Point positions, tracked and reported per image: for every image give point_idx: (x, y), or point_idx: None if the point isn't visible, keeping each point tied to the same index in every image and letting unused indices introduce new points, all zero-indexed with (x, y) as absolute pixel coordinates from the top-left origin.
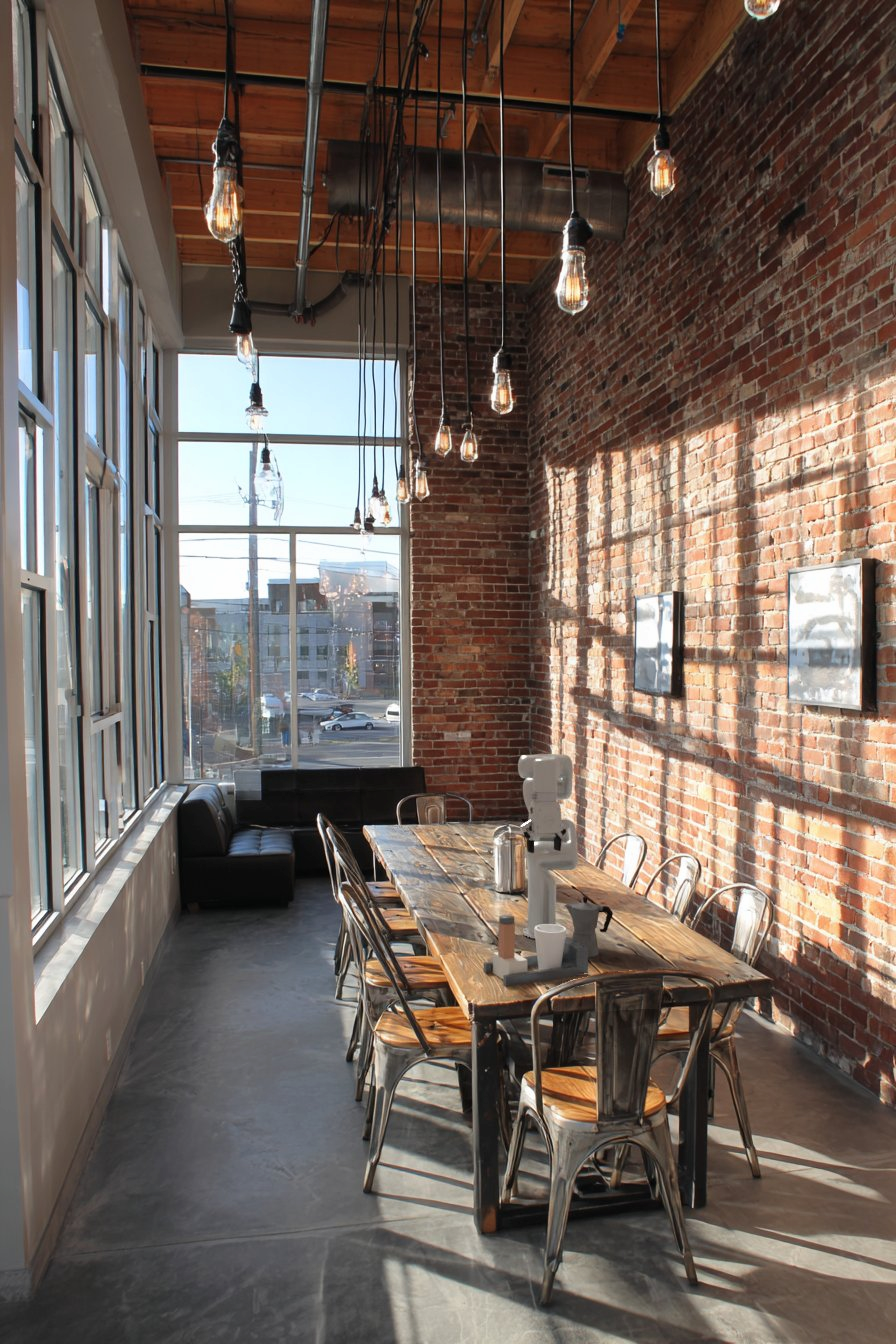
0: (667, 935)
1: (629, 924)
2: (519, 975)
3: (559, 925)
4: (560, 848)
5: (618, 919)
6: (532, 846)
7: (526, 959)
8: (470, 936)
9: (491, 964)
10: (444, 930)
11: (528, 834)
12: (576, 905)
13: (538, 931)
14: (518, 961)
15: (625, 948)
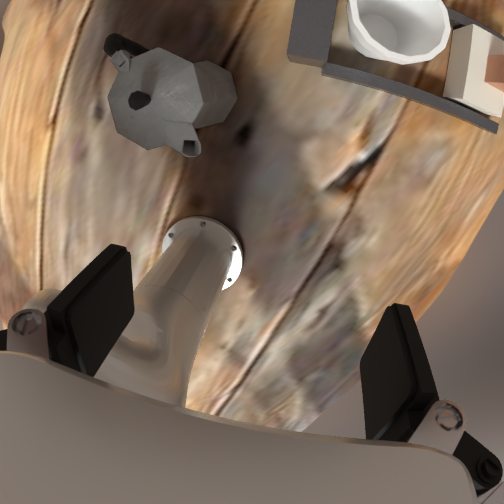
0: (12, 130)
1: (31, 214)
2: (485, 26)
3: (353, 15)
4: (105, 251)
5: (36, 245)
6: (422, 345)
7: (473, 27)
8: (339, 320)
9: (487, 118)
10: (348, 364)
11: (465, 465)
12: (182, 103)
13: (448, 24)
14: (492, 34)
15: (105, 86)
